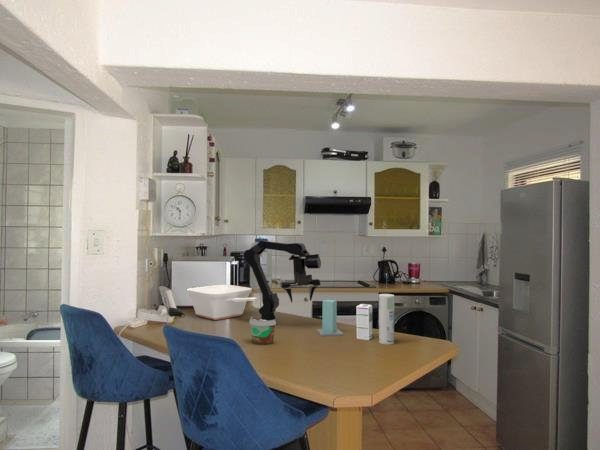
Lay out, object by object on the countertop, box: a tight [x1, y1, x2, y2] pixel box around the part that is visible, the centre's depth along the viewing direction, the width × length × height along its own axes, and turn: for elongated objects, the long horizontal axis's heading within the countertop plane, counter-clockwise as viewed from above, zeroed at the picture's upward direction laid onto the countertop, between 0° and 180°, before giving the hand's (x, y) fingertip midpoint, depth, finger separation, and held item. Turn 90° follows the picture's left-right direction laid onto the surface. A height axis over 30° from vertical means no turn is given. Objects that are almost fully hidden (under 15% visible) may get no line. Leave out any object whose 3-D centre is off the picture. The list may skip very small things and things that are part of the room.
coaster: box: [316, 328, 344, 337], centre depth 190 cm, size 10×10×1 cm
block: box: [321, 299, 338, 333], centre depth 191 cm, size 5×5×14 cm
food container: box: [248, 316, 277, 346], centre depth 172 cm, size 12×6×10 cm, turn 62°
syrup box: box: [355, 303, 374, 341], centre depth 182 cm, size 6×6×14 cm
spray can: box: [378, 293, 395, 345], centre depth 175 cm, size 6×6×20 cm
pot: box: [186, 284, 258, 321], centre depth 221 cm, size 29×44×15 cm, turn 47°
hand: (301, 301), depth 199 cm, fingers open, 9 cm apart
